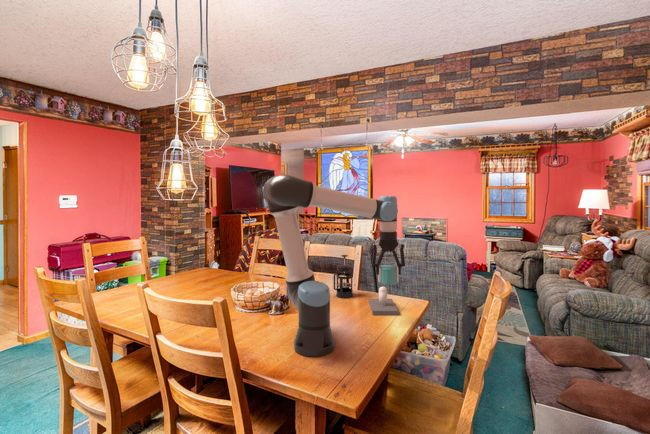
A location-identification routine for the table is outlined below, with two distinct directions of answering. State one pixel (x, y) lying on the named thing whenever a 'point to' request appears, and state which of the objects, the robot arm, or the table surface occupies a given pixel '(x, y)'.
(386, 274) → the teal cylinder
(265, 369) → the table surface
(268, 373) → the table surface
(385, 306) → the post base
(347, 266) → the french press
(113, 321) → the table surface
